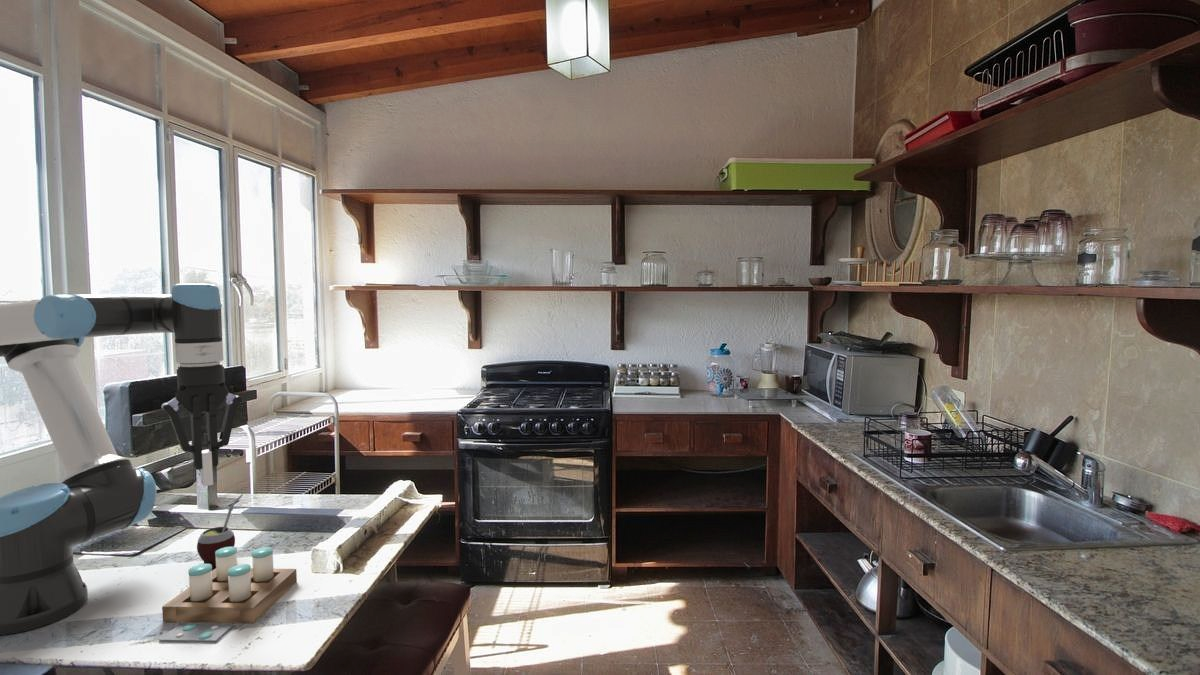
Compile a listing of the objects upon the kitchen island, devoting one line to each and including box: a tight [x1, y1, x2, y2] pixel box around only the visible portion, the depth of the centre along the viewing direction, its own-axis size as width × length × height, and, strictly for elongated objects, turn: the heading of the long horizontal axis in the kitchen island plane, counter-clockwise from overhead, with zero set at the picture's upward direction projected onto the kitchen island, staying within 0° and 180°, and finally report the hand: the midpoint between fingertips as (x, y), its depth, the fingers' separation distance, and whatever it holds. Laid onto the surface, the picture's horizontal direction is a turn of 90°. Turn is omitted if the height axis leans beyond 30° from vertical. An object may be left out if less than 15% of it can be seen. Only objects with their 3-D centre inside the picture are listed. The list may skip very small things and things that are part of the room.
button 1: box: [188, 563, 213, 601], centre depth 110 cm, size 4×4×6 cm
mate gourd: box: [196, 493, 244, 571], centre depth 129 cm, size 8×8×15 cm
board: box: [161, 567, 298, 624], centre depth 114 cm, size 17×15×3 cm
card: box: [158, 622, 235, 644], centre depth 103 cm, size 10×5×1 cm, turn 90°
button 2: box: [215, 546, 238, 581], centre depth 118 cm, size 4×4×6 cm
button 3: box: [228, 563, 251, 602], centre depth 110 cm, size 4×4×6 cm
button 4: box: [251, 546, 274, 582], centre depth 118 cm, size 4×4×6 cm
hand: (207, 483), depth 112 cm, fingers closed
